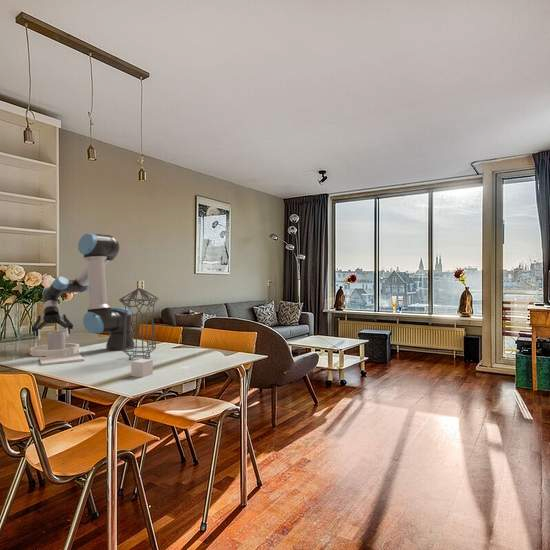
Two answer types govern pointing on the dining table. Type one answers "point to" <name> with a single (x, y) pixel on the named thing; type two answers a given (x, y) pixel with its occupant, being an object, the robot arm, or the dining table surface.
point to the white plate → (44, 350)
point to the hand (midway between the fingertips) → (53, 339)
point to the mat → (60, 359)
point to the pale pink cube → (141, 367)
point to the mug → (56, 340)
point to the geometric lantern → (136, 321)
